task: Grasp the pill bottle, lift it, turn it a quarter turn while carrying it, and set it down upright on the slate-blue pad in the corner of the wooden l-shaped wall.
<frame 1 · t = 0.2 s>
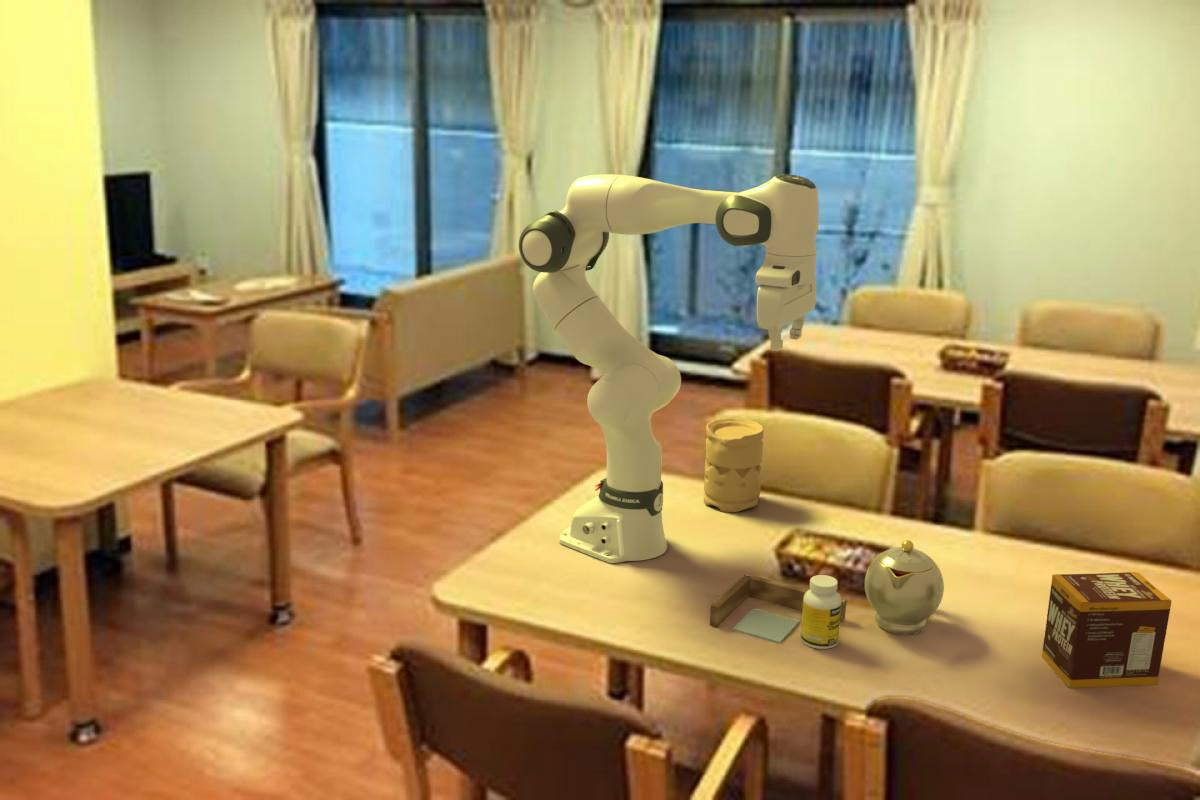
hand: (786, 344, 213), 48 cm above the table, fingers open, 8 cm apart
wooden l-shaped wall: (747, 595, 222), resting in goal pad
supplement box: (1097, 671, 197), on the table
teapot: (901, 622, 213), on the table
container: (731, 503, 266), on the table
pill bottle: (819, 642, 206), on the table
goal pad: (766, 626, 211), on the table
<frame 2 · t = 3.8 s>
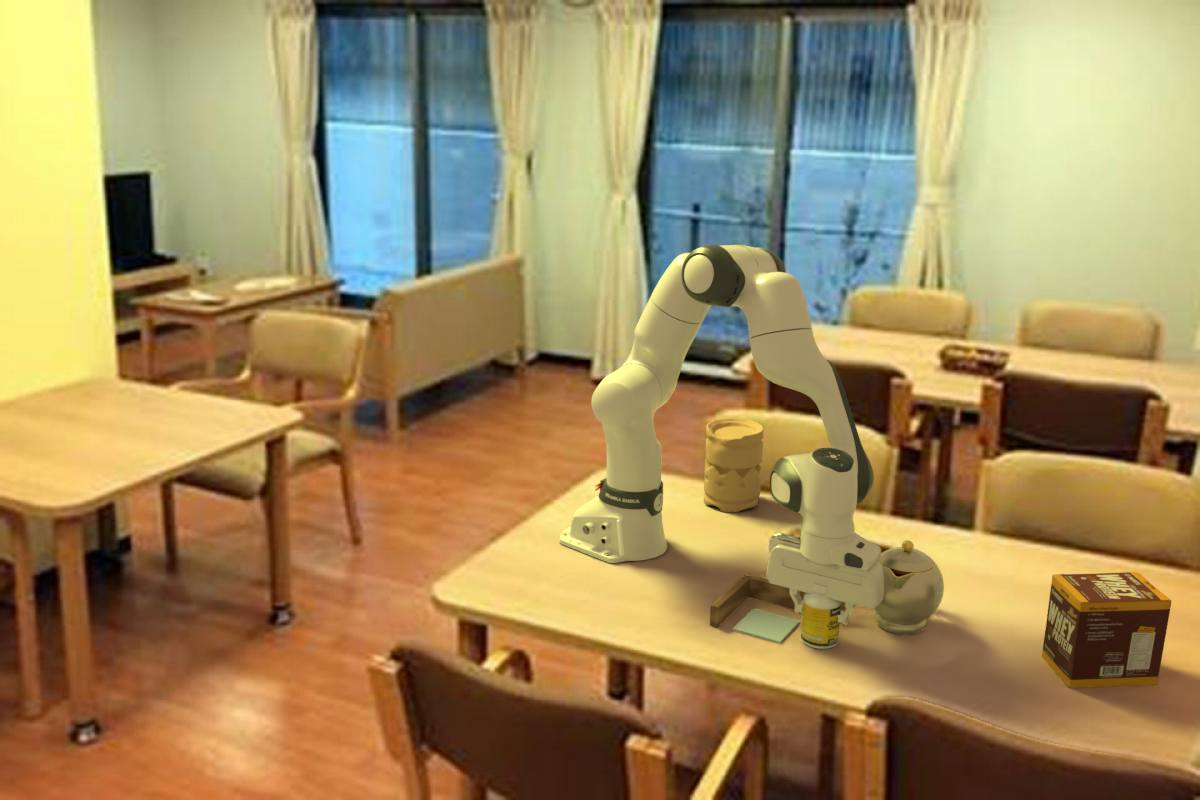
hand: (821, 617, 204), 5 cm above the table, fingers closed on pill bottle, 6 cm apart
pill bottle: (819, 642, 206), on the table, touching gripper
everything else where it was.
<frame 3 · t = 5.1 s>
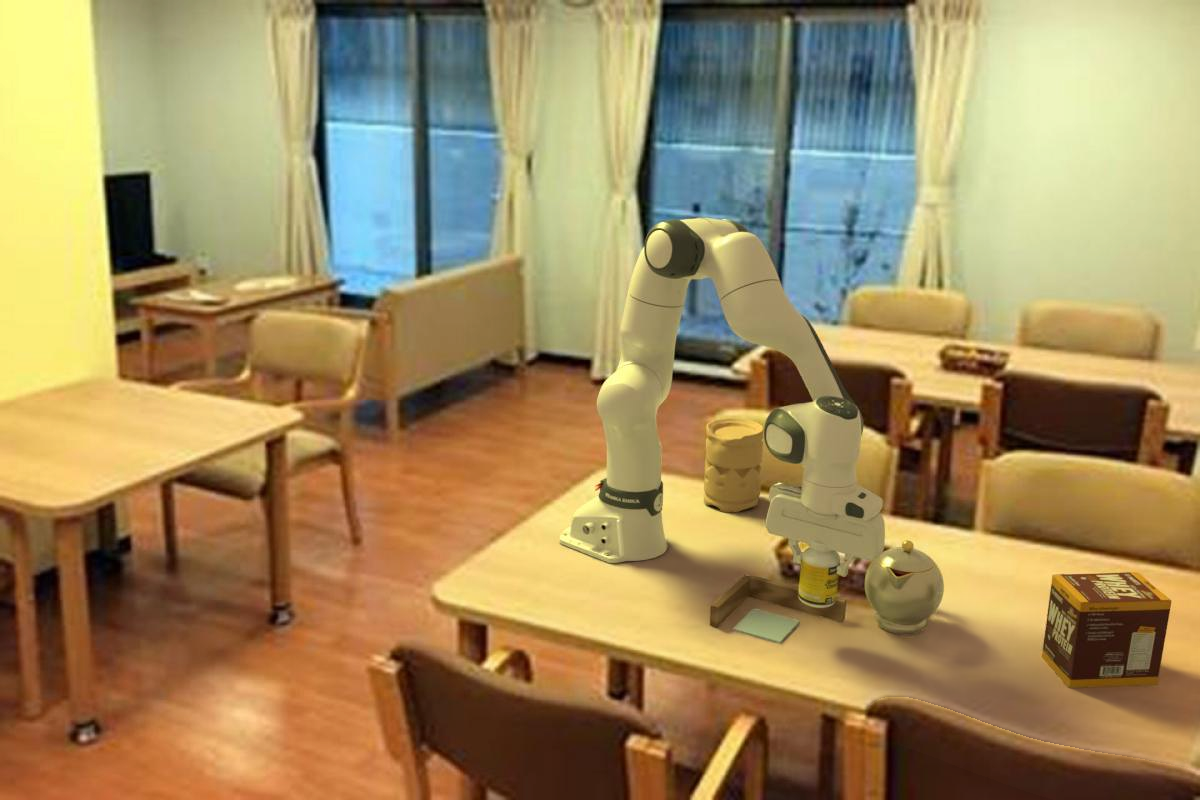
hand: (820, 568, 202), 14 cm above the table, fingers closed on pill bottle, 6 cm apart
pill bottle: (816, 601, 203), point 8 cm above the table, touching gripper
everything else where it was.
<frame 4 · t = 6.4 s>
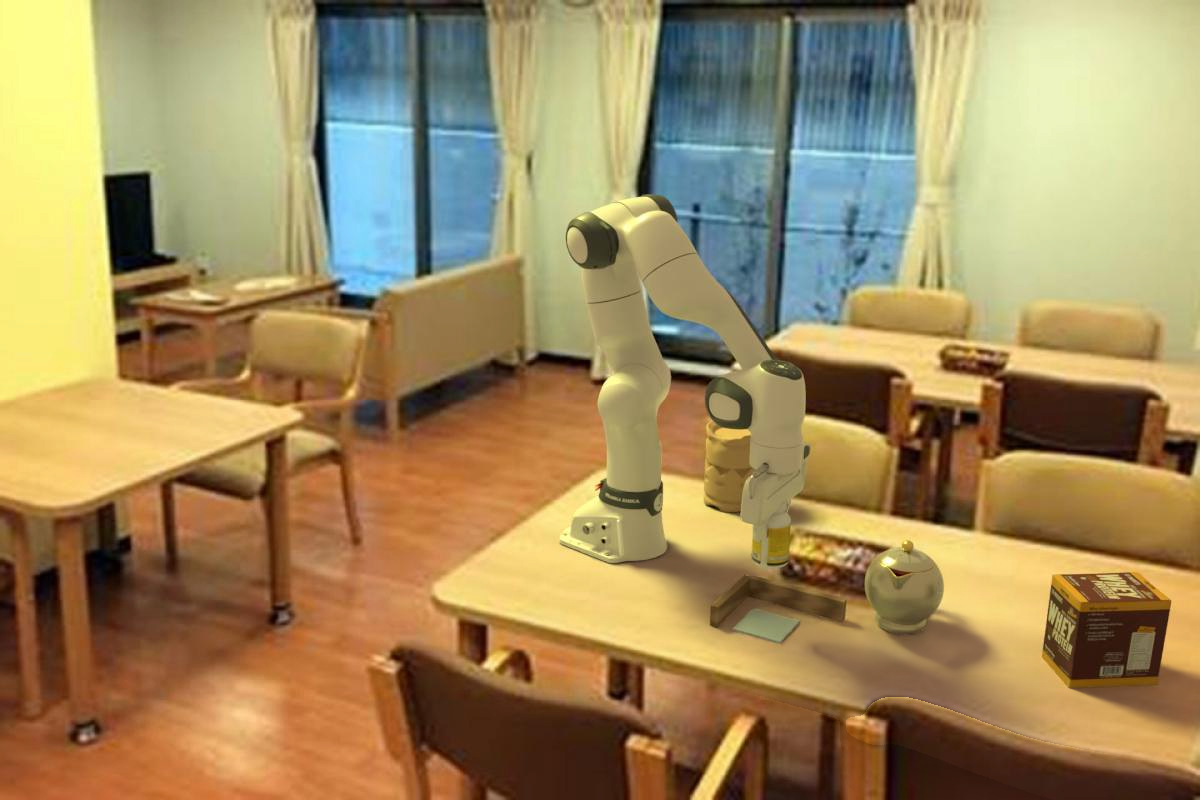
hand: (771, 530, 205), 19 cm above the table, fingers closed on pill bottle, 6 cm apart
pill bottle: (769, 563, 207), point 12 cm above the table, touching gripper
everything else where it was.
when the fingers open (7 cm above the table, at t = 9.0 s): pill bottle stays where it is, resting on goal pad.
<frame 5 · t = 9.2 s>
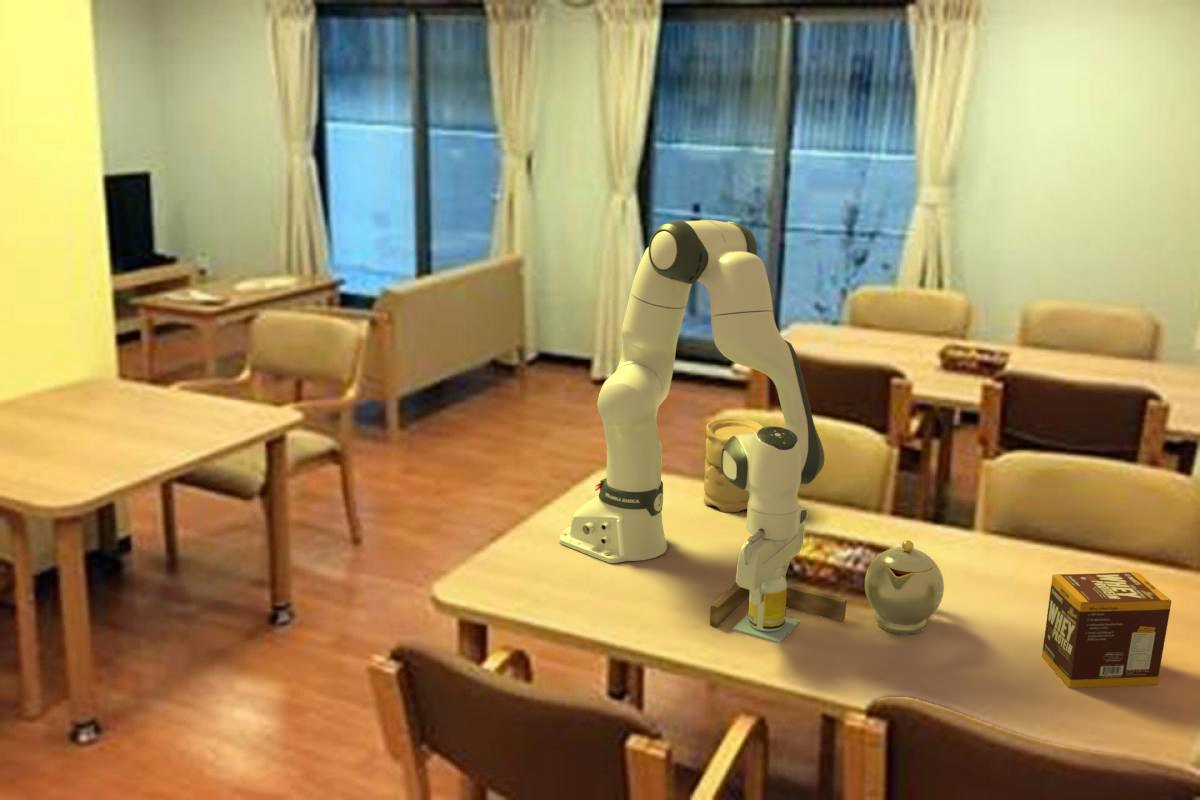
hand: (768, 593, 209), 7 cm above the table, fingers open, 8 cm apart
pill bottle: (766, 625, 210), resting on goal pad
everything else where it was.
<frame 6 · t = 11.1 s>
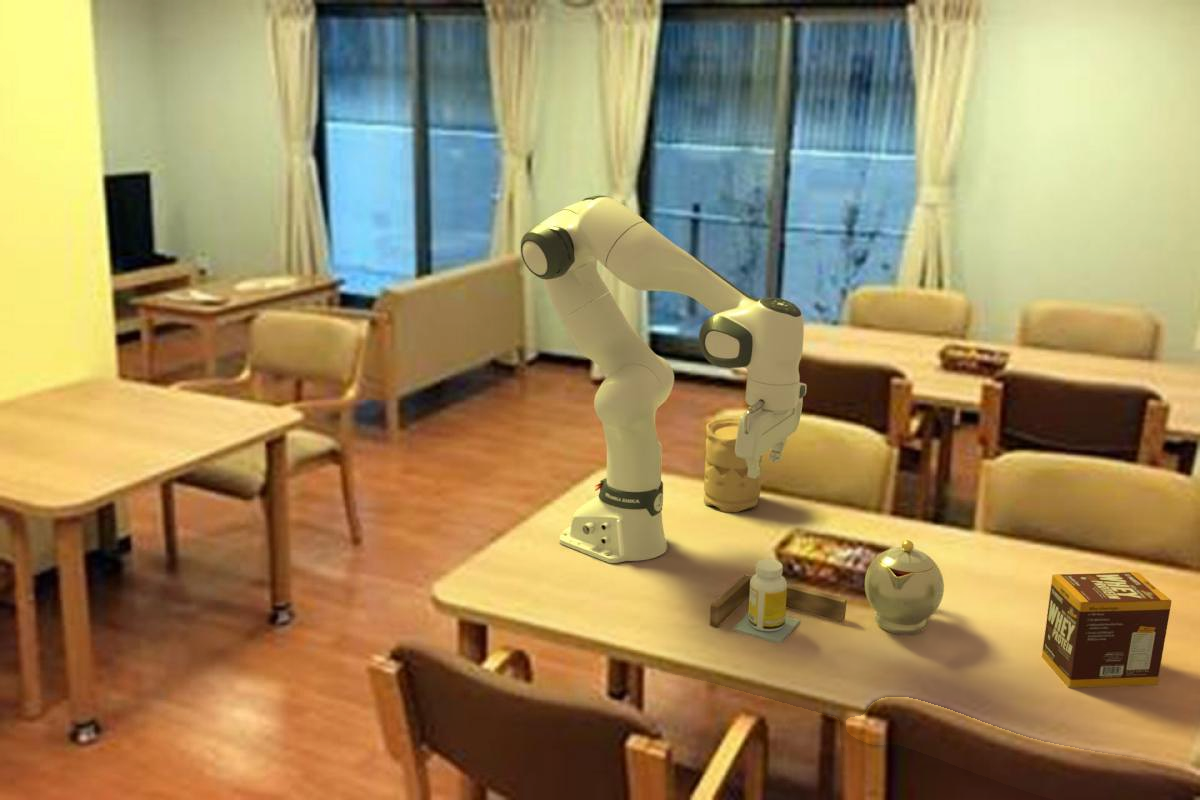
hand: (764, 468, 206), 28 cm above the table, fingers open, 8 cm apart
nothing on the table moved.
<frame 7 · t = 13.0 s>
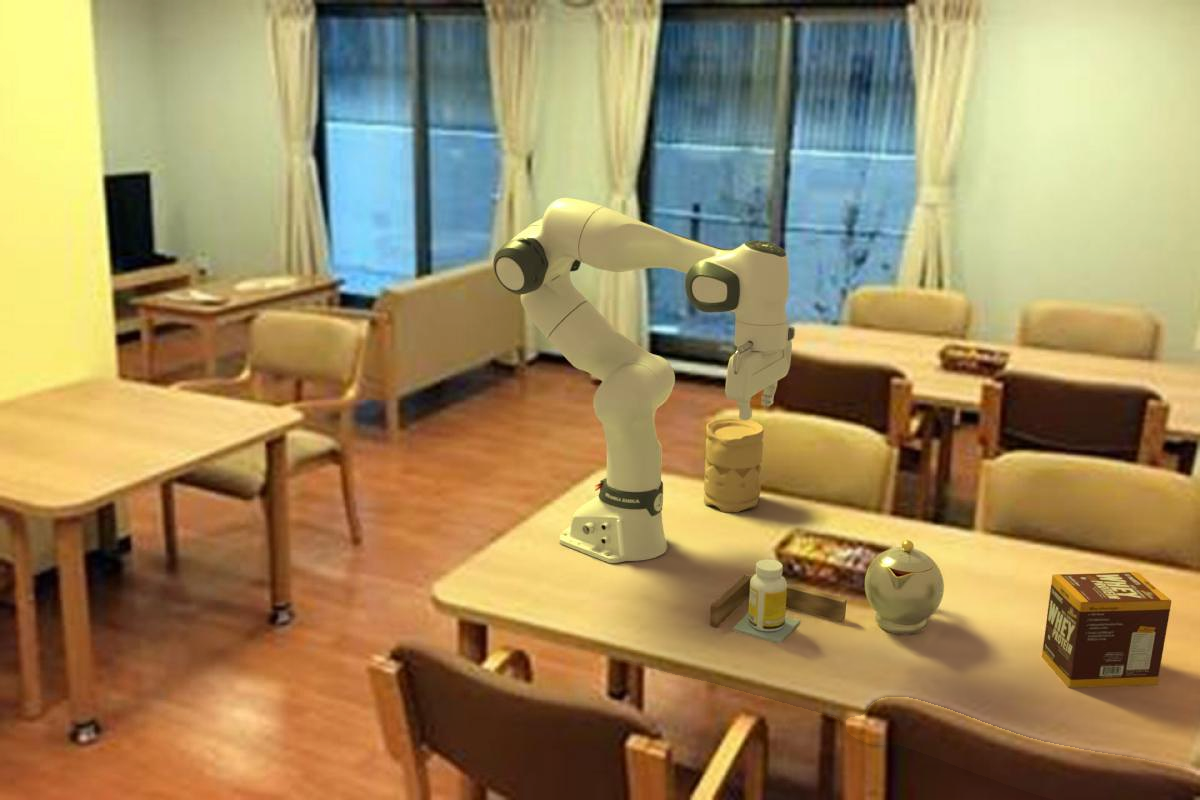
hand: (756, 412, 209), 37 cm above the table, fingers open, 8 cm apart
nothing on the table moved.
at the end: pill bottle inside the target area on the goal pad (0.0 cm from its centre), point 0.2 cm above the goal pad's base; pill bottle tilted 0°; the gripper is holding nothing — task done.
